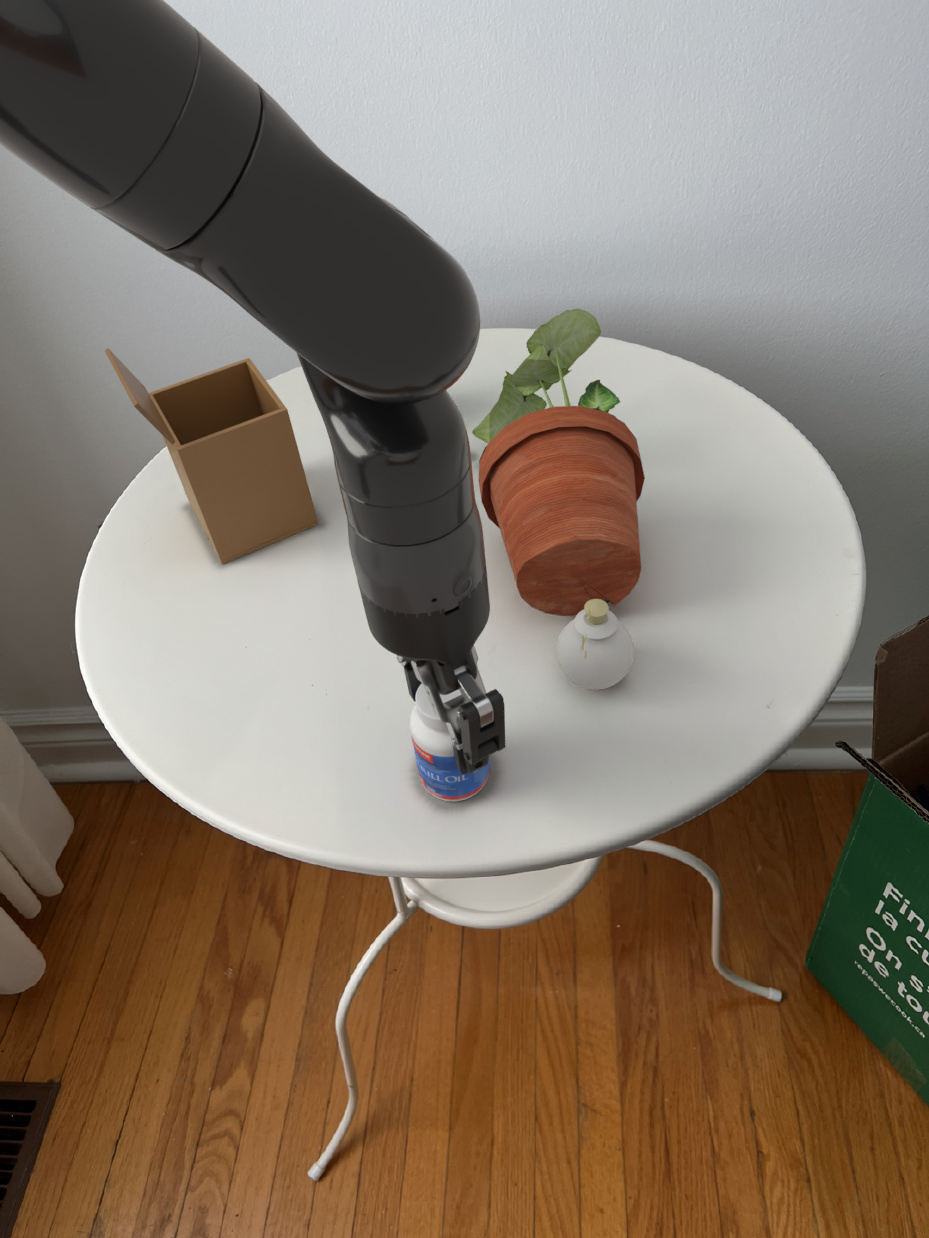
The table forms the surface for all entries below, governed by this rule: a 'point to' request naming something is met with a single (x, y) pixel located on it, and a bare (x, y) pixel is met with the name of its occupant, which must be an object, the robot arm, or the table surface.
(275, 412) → the carton
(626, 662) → the white potion bottle
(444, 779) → the pill bottle
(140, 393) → the flap
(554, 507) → the potted plant
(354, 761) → the table surface
